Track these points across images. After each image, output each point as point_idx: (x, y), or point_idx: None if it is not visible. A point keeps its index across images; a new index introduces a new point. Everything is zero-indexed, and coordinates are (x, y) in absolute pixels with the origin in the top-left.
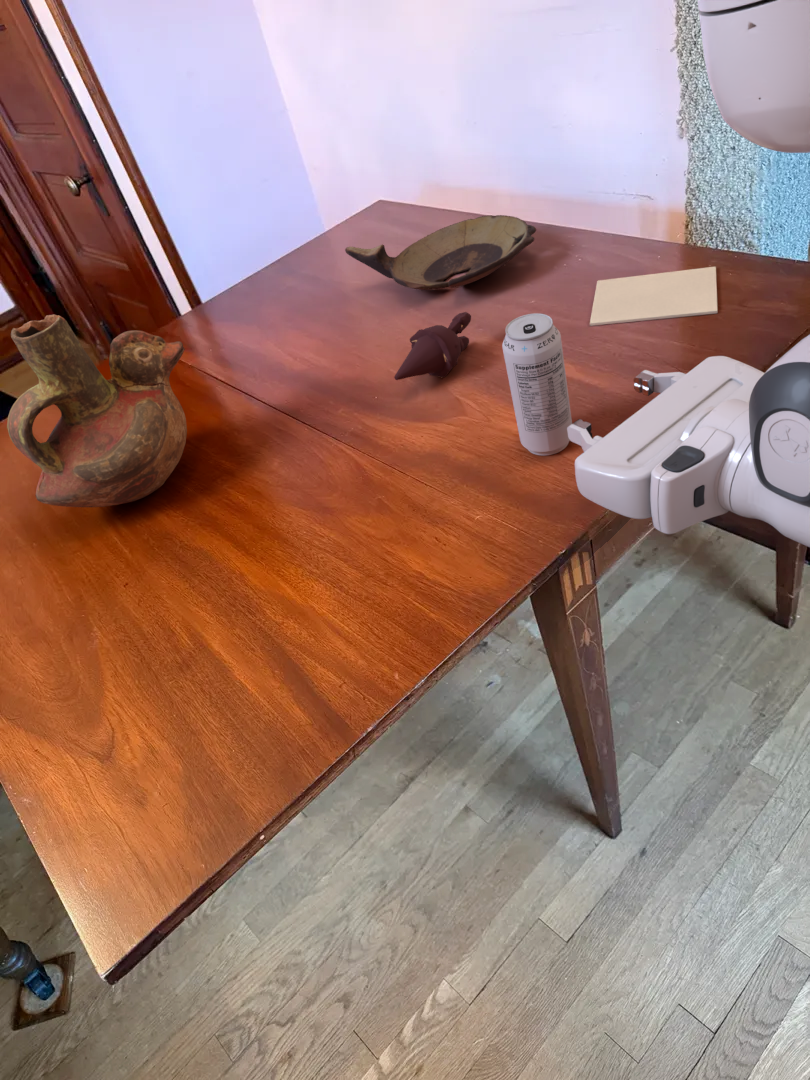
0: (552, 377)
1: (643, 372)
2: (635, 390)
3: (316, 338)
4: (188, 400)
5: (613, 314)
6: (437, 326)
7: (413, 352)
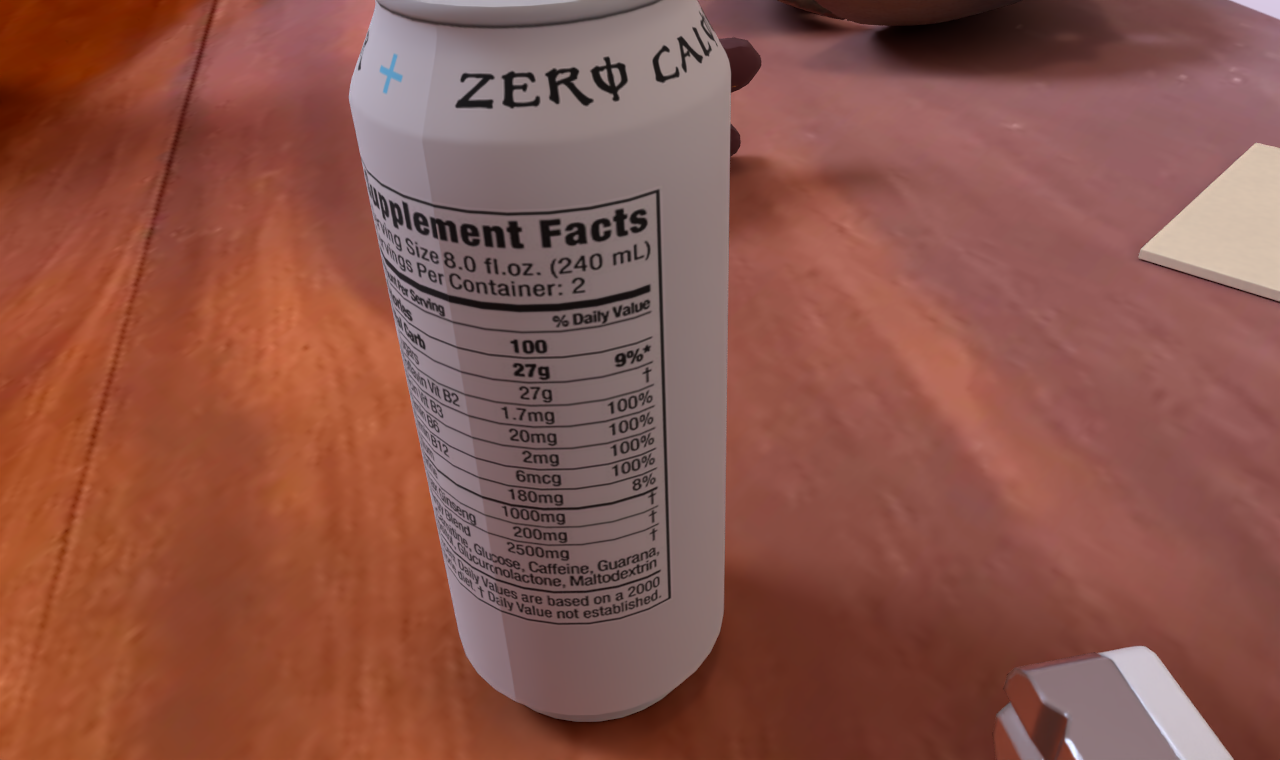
0: (548, 346)
1: (1120, 668)
2: (996, 756)
3: None
4: (111, 27)
5: (1247, 256)
6: None
7: None
